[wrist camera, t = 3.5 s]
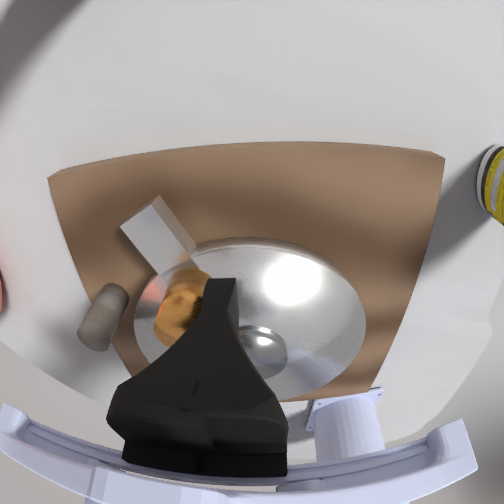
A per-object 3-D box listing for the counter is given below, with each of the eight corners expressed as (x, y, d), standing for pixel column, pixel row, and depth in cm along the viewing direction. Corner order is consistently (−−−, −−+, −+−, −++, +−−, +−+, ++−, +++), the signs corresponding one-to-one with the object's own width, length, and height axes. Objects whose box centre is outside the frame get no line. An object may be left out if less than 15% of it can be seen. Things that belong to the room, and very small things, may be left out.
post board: (364, 380, 24) (376, 426, 20) (148, 385, 25) (137, 430, 20) (430, 151, 13) (492, 184, 8) (61, 169, 14) (2, 206, 9)
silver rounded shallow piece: (378, 352, 18) (394, 398, 15) (220, 403, 22) (217, 445, 18) (276, 125, 11) (289, 141, 7) (67, 264, 14) (32, 309, 11)
